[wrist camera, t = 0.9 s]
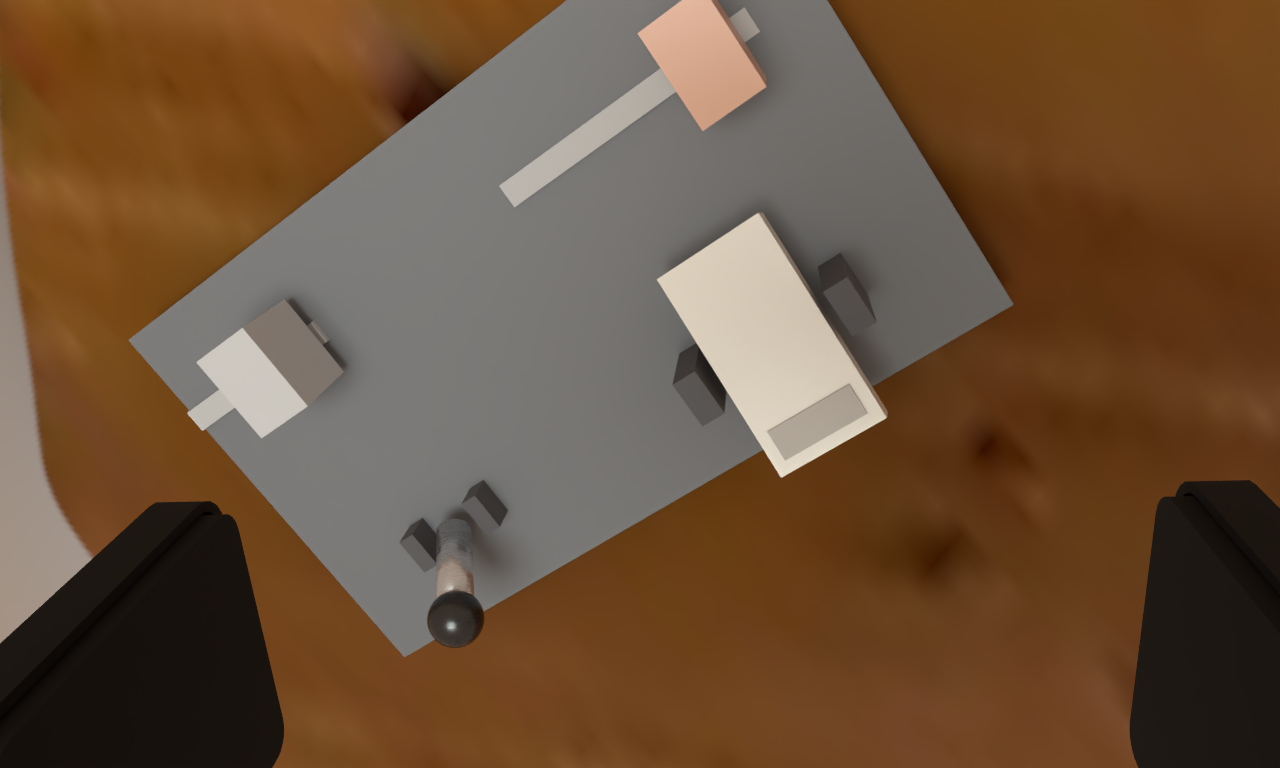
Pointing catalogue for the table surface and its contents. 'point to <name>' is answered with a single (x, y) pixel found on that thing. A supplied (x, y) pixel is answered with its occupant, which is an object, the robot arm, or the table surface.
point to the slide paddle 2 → (704, 59)
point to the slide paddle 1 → (271, 368)
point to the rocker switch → (772, 345)
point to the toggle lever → (455, 588)
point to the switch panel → (565, 296)
